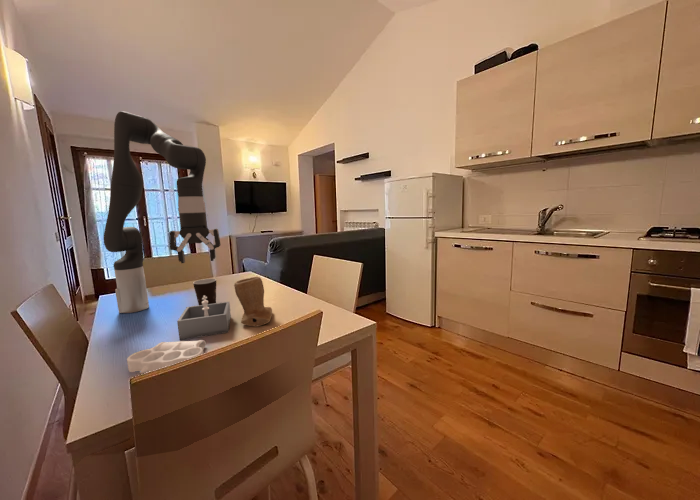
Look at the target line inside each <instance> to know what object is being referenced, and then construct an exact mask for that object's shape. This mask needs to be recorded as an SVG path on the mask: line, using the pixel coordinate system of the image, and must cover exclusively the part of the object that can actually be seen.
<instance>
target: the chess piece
mask: <svg viewBox="0 0 700 500" xmlns="http://www.w3.org/2000/svg"><path fill="white" fill-rule="evenodd" d="M206 298H207V297H205V295H204V296H203V298H202V300H203V299H204V301H202V304H203V307H204V308H202V310H204V317H205V316H209V315H208V310H207V309H209V307H207V305H208V301H207V300H206Z"/></svg>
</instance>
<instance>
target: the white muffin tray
mask: <svg viewBox="0 0 700 500" xmlns="http://www.w3.org/2000/svg"><path fill="white" fill-rule="evenodd" d="M205 347H206V341H205V340H203V339H199V340H190V341H189V340H188V341H185V340H179V341H168V342H167V341H161V342H159V343H158V344H156V345H155V346H153V347H150V348H147V349H143V350H140V351H137V352H134V353H131V354H130V355H129V356H128V357H127V358H126V363H127V367H128V368H127V369H128V372H129V373H136V372H135V371H141V372H139V374H143V373H146V372H149V371H153V370H156V369H159V368H162V367H165V366H169V365H172V364H175V363H178V362H181V361H184V360H187V359H190V358H193V357H196V356H198V355H201V354H204V349H205Z"/></svg>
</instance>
